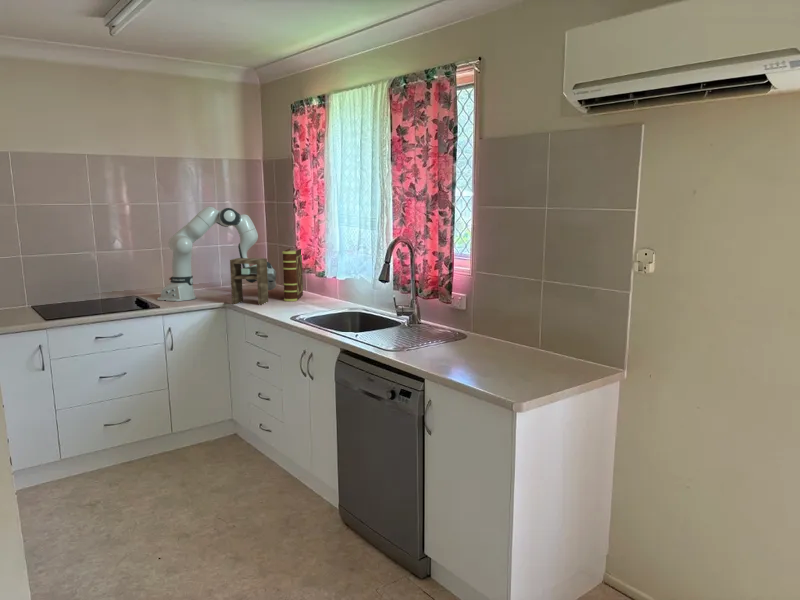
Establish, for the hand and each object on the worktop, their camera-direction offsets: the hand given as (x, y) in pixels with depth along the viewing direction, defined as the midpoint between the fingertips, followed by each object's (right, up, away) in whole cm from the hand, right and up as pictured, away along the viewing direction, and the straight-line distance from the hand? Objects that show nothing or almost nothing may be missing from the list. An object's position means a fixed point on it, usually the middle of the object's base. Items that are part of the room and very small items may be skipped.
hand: (255, 267), depth 355 cm
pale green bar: (-1, -3, -6) cm, 7 cm away
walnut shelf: (-1, -21, -6) cm, 22 cm away
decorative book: (+21, -19, +10) cm, 30 cm away
